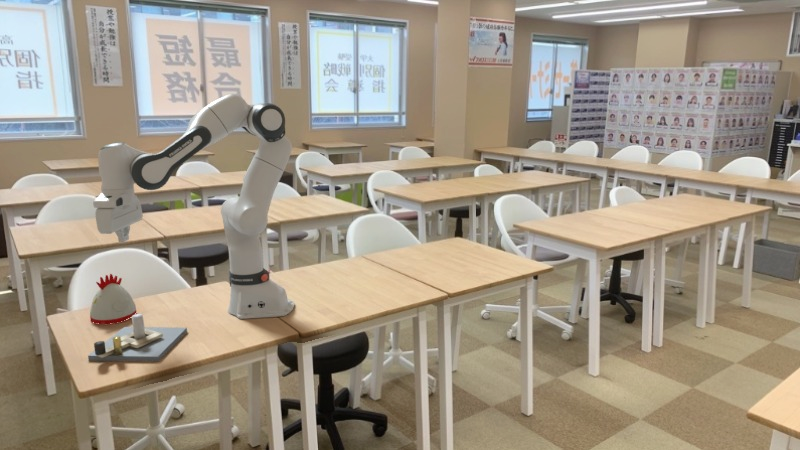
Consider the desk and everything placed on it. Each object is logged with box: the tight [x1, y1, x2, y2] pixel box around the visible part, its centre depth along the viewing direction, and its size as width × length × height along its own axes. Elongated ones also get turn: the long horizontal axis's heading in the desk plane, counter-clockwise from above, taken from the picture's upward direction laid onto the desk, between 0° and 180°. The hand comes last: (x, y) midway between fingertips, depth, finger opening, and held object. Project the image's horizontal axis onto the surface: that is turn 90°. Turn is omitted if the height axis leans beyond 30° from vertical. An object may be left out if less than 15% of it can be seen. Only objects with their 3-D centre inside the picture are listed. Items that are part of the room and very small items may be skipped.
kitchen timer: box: [89, 273, 137, 325], centre depth 185 cm, size 14×14×15 cm
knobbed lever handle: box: [93, 328, 163, 358], centre depth 160 cm, size 18×9×4 cm, turn 152°
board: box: [87, 313, 188, 362], centre depth 164 cm, size 20×20×10 cm
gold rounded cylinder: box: [113, 336, 123, 356], centre depth 156 cm, size 2×2×5 cm
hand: (123, 241), depth 170 cm, fingers closed
